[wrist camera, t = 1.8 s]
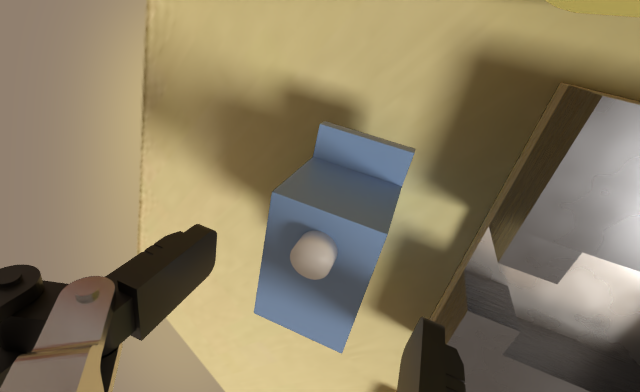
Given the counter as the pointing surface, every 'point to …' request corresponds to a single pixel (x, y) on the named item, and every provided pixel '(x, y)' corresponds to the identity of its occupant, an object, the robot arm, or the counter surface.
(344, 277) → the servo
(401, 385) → the robot arm
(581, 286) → the grey hollow block
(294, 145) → the counter surface
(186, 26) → the counter surface
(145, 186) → the counter surface
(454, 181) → the counter surface
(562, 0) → the plastic component
